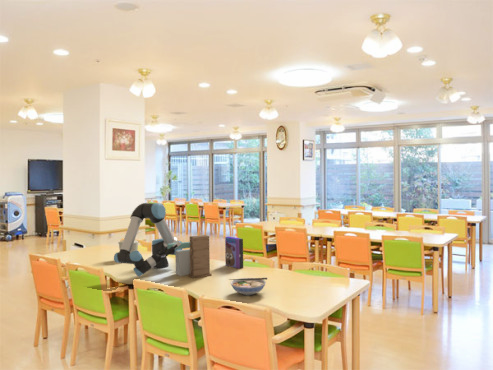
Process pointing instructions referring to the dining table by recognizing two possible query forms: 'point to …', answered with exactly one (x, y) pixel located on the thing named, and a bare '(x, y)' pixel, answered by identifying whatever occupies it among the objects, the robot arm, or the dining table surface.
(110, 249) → the dining table surface
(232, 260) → the cereal box
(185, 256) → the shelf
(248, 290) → the ramen bowl
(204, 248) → the pedestal
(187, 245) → the mint green bar
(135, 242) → the canister
